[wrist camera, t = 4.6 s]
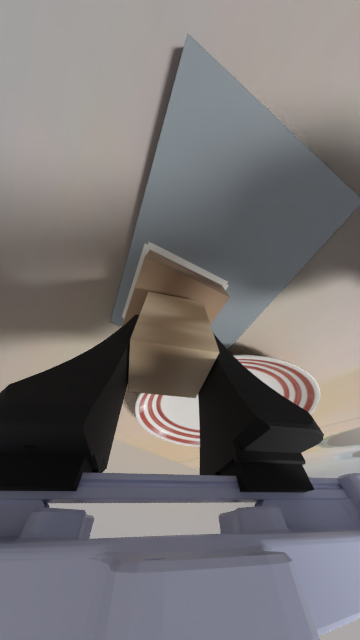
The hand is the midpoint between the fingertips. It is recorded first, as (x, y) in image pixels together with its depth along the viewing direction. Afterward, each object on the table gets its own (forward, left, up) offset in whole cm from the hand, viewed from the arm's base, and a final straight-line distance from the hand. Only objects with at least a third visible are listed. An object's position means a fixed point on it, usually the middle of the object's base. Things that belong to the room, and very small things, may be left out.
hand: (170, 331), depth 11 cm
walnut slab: (0, 0, -5) cm, 5 cm away
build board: (-2, -4, -5) cm, 7 cm away
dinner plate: (-15, +14, -5) cm, 21 cm away
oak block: (0, 0, -1) cm, 1 cm away
